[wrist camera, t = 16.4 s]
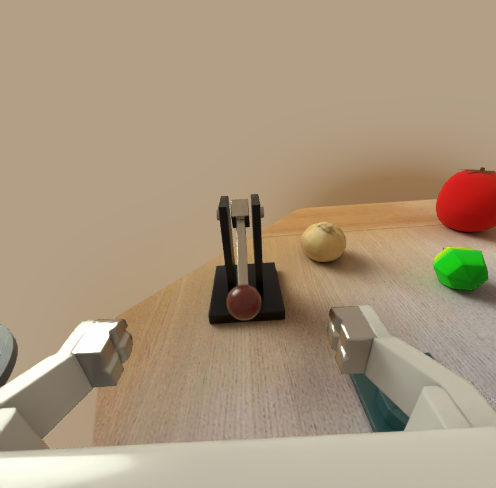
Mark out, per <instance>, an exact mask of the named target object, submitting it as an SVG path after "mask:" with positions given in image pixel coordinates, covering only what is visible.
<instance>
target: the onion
mask: <svg viewBox="0 0 496 488" xmlns="http://www.w3.org/2000/svg"><path fill="white" fill-rule="evenodd" d="M345 247H346V239H345V235H344V233H343V232H342V230H341V229H340V228H339V227H337V226H335V225H333V224H331V223H329V222H321V223H317V224H314V225H311V226H310V227H308V228H307V229H306V230H305V231H304V233H303V235H302V237H301V248H302V250H303V252H304V253H305V255H306V256H308V257H309V258H311V259H313V260H315V261H318V262H329V261H334V260H335V259H337V258H339V257H340V256H341V255H342V254H343V252H344V250H345Z"/></svg>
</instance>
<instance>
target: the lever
mask: <svg viewBox="0 0 496 488" xmlns="http://www.w3.org/2000/svg"><path fill="white" fill-rule="evenodd" d="M231 218H232V225H233V228H236V230H237V231H236V232H237V268H238V286H236V287H234V288H233V289H232V290H231V291H230V292H229V294H228V297H227V308H228V311H229V312H230V314H231V315H232V316H233V317H235V318H236V319H239V320H249V319H252V318H253V317H255V316H256V315H257V314H258V312H259V311H260V308H261V303H262V301H261V296H260V294H259V292H258V291H257V290H256V289H255V288H254V287H252V286H250V285H249V284H248V266H247V247H246V230H245V229H246V228H245V227H250V225H249V224H250V223H249V208H248V199H238V200H231Z"/></svg>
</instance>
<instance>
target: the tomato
mask: <svg viewBox="0 0 496 488" xmlns="http://www.w3.org/2000/svg"><path fill="white" fill-rule="evenodd" d="M484 169H485V168H481V169H480V170H465V171H462V172H458V173H457V174H455V175H454V176H452V177H451V178H450V179H449V180H448V181H447V182H446V183H445V185H444V186H443V188H442V189H441V191H440V193H439V196H438V199H437V203H436V212H437V216H438V218H439V220H440V221H441V222H442V224H443V225H445V226H447V227H449V228H451V229H454V230H457V231H463V232H477V231H482V230H486V229H489V228H492V227H494V226H496V172H495V171H485V170H484Z"/></svg>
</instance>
